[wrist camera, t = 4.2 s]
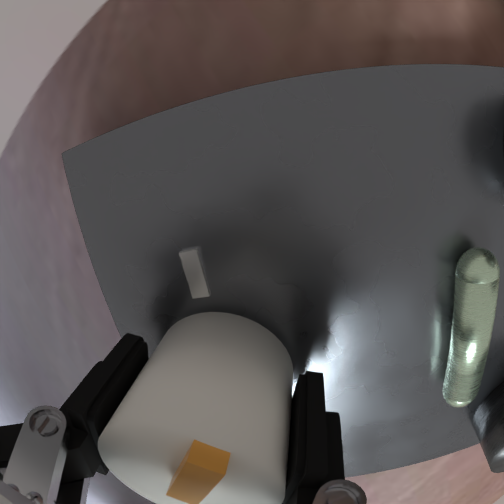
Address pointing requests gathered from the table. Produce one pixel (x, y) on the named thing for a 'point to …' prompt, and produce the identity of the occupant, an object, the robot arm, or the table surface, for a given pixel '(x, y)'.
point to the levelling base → (325, 241)
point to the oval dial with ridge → (206, 416)
